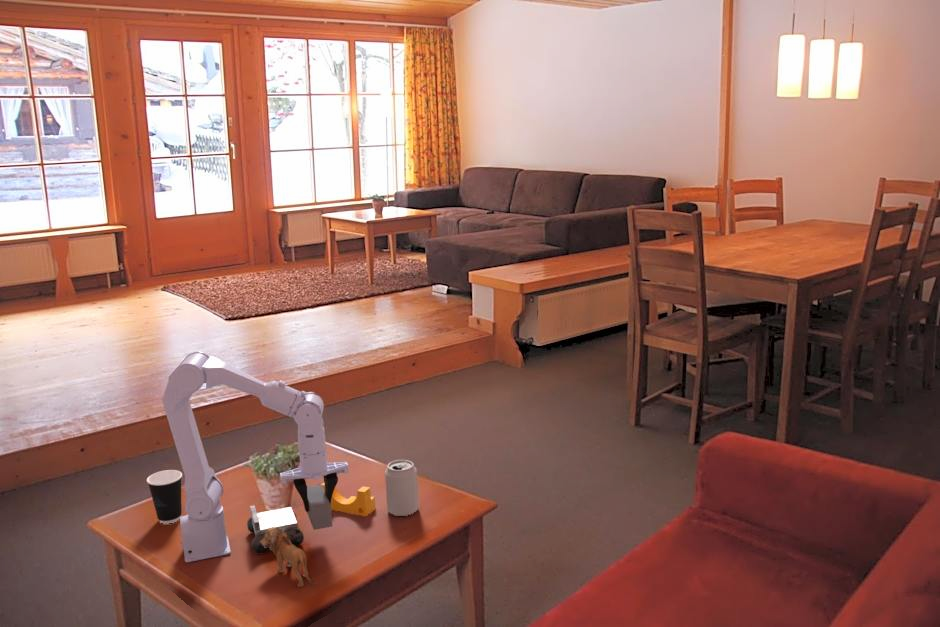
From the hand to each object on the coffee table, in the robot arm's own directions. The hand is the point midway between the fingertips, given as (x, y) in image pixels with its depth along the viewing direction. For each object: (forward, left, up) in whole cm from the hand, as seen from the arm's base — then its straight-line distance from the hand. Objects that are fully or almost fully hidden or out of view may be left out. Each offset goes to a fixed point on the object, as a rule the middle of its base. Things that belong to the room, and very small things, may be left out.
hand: (317, 507), depth 186 cm
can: (+21, +7, -9) cm, 24 cm away
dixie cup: (-31, +26, -9) cm, 41 cm away
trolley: (-9, +6, -8) cm, 14 cm away
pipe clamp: (+10, +13, -9) cm, 19 cm away
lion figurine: (-8, -11, -9) cm, 16 cm away
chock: (0, 0, -2) cm, 2 cm away
